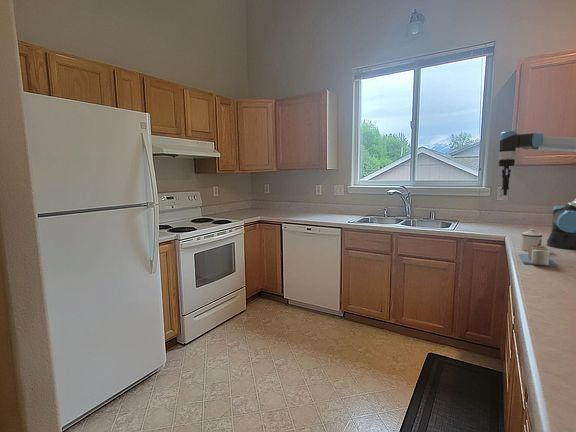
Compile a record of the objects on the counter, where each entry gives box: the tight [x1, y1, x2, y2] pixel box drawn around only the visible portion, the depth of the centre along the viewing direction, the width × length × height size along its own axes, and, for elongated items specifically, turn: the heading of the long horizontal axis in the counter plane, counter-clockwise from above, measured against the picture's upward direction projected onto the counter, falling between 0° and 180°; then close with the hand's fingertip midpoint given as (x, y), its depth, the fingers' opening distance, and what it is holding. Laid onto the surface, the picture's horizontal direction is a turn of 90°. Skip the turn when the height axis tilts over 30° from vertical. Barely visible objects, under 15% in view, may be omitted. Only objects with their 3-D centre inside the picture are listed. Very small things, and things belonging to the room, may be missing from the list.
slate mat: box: [518, 253, 557, 268], centre depth 155 cm, size 12×18×1 cm, turn 150°
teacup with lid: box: [520, 228, 543, 252], centre depth 177 cm, size 12×9×12 cm
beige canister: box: [527, 245, 550, 265], centre depth 151 cm, size 6×6×13 cm
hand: (504, 200), depth 185 cm, fingers closed
